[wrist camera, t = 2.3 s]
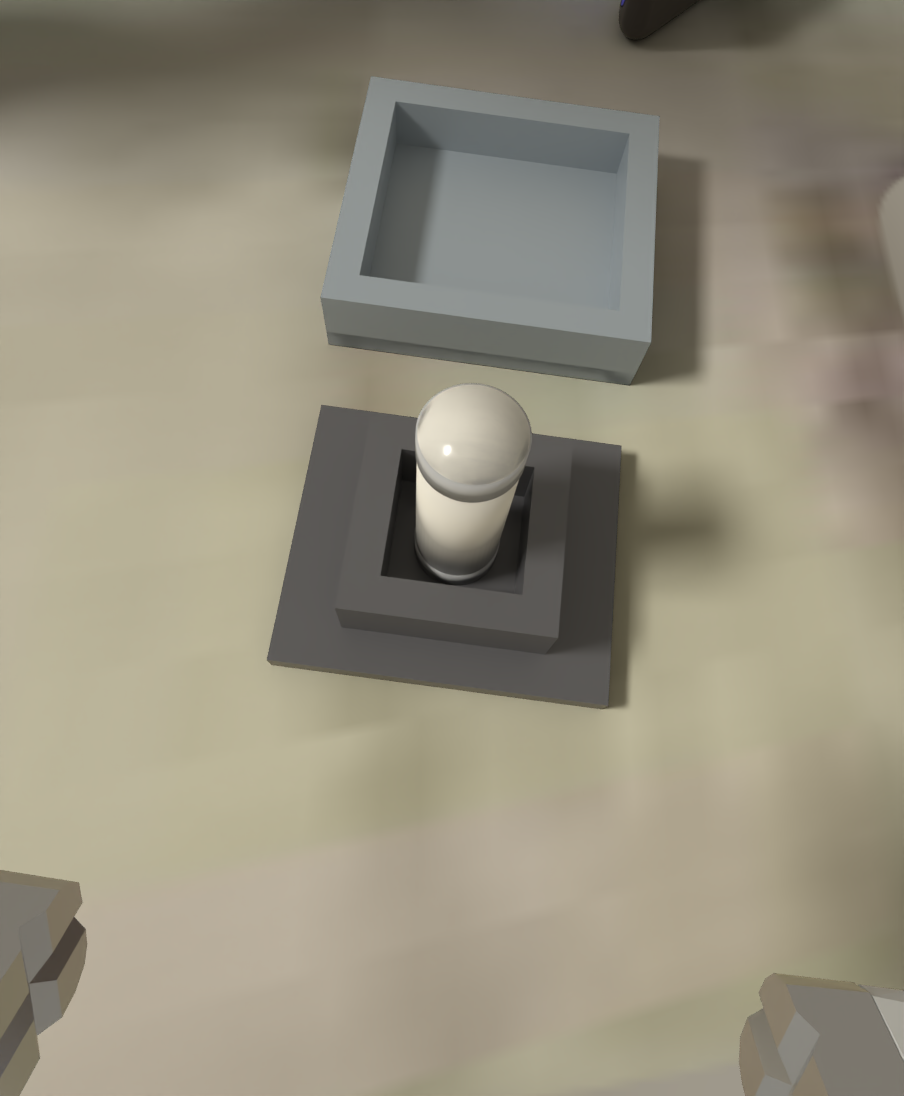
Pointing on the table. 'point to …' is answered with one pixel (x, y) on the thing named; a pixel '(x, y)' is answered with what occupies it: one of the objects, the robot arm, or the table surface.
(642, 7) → the leaning round-cornered charcoal block
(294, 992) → the table surface
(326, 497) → the fuse holder
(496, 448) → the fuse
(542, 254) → the parts tray
